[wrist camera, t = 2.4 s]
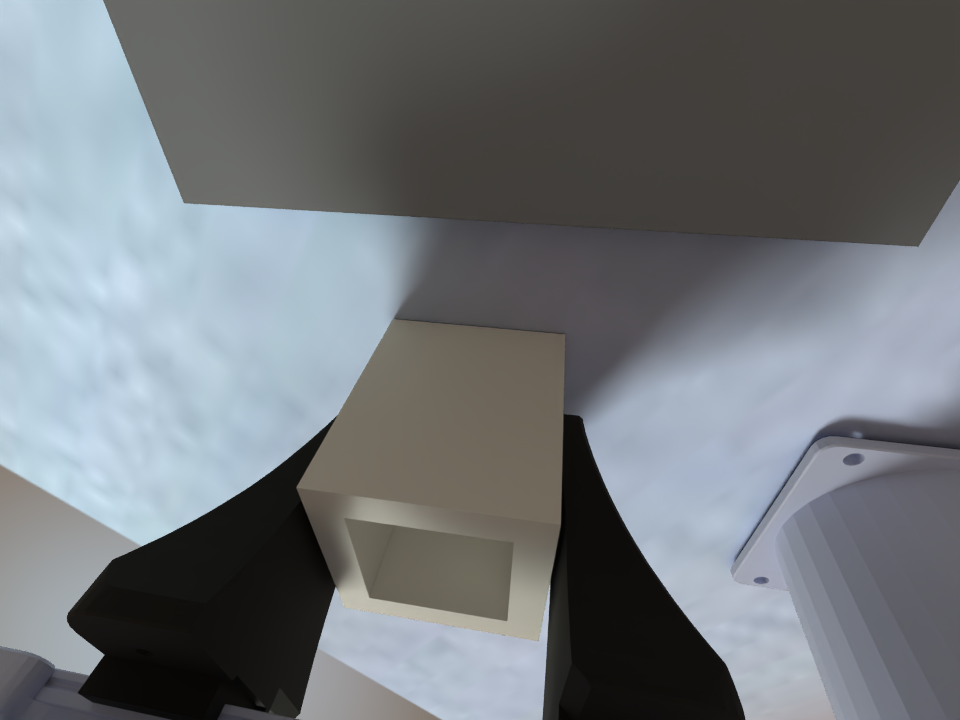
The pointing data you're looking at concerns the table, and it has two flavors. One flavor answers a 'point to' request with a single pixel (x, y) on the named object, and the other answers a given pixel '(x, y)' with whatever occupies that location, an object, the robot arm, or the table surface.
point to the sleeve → (446, 478)
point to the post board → (562, 110)
